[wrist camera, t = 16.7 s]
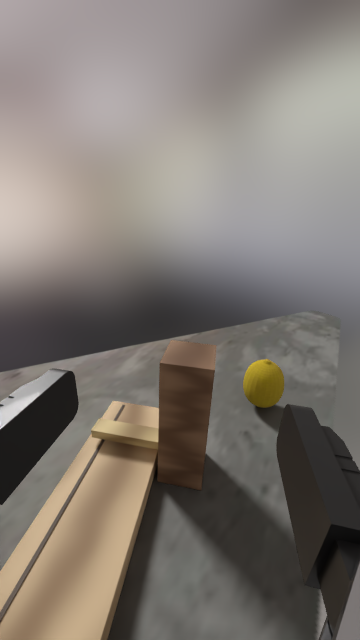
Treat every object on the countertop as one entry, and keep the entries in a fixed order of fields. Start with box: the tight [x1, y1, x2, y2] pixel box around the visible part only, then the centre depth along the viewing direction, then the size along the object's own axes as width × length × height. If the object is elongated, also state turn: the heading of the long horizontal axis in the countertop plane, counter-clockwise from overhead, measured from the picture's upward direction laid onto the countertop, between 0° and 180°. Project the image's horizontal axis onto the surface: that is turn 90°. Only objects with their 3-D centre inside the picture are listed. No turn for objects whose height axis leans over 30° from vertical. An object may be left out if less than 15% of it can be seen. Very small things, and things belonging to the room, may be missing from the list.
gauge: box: [91, 340, 216, 490], centre depth 24 cm, size 12×4×14 cm, turn 80°
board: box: [0, 401, 159, 640], centre depth 20 cm, size 8×26×2 cm, turn 170°
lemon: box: [243, 359, 284, 408], centre depth 34 cm, size 6×6×8 cm
